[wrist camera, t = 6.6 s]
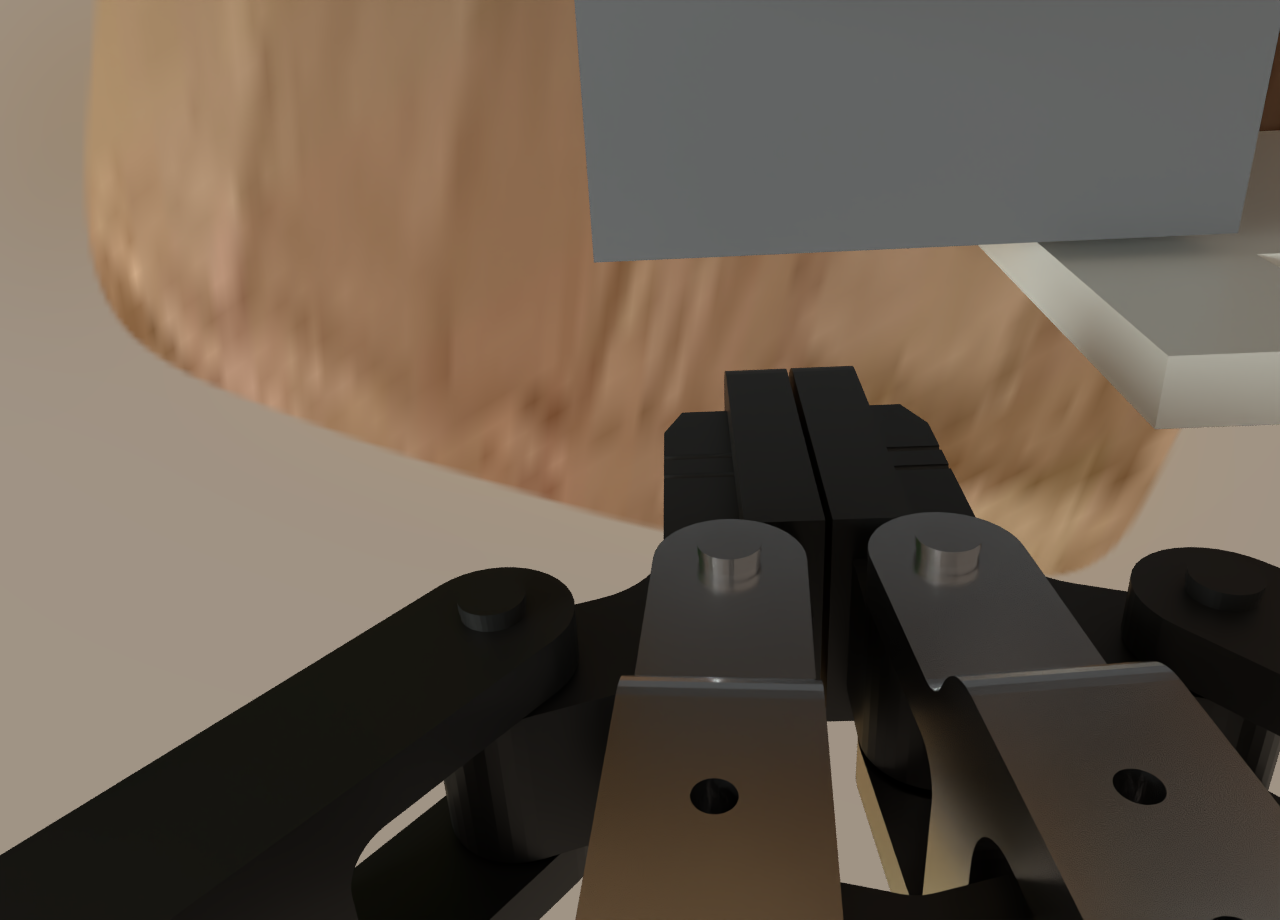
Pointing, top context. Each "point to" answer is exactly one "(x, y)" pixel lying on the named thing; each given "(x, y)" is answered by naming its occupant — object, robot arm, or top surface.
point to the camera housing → (916, 122)
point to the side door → (1174, 309)
